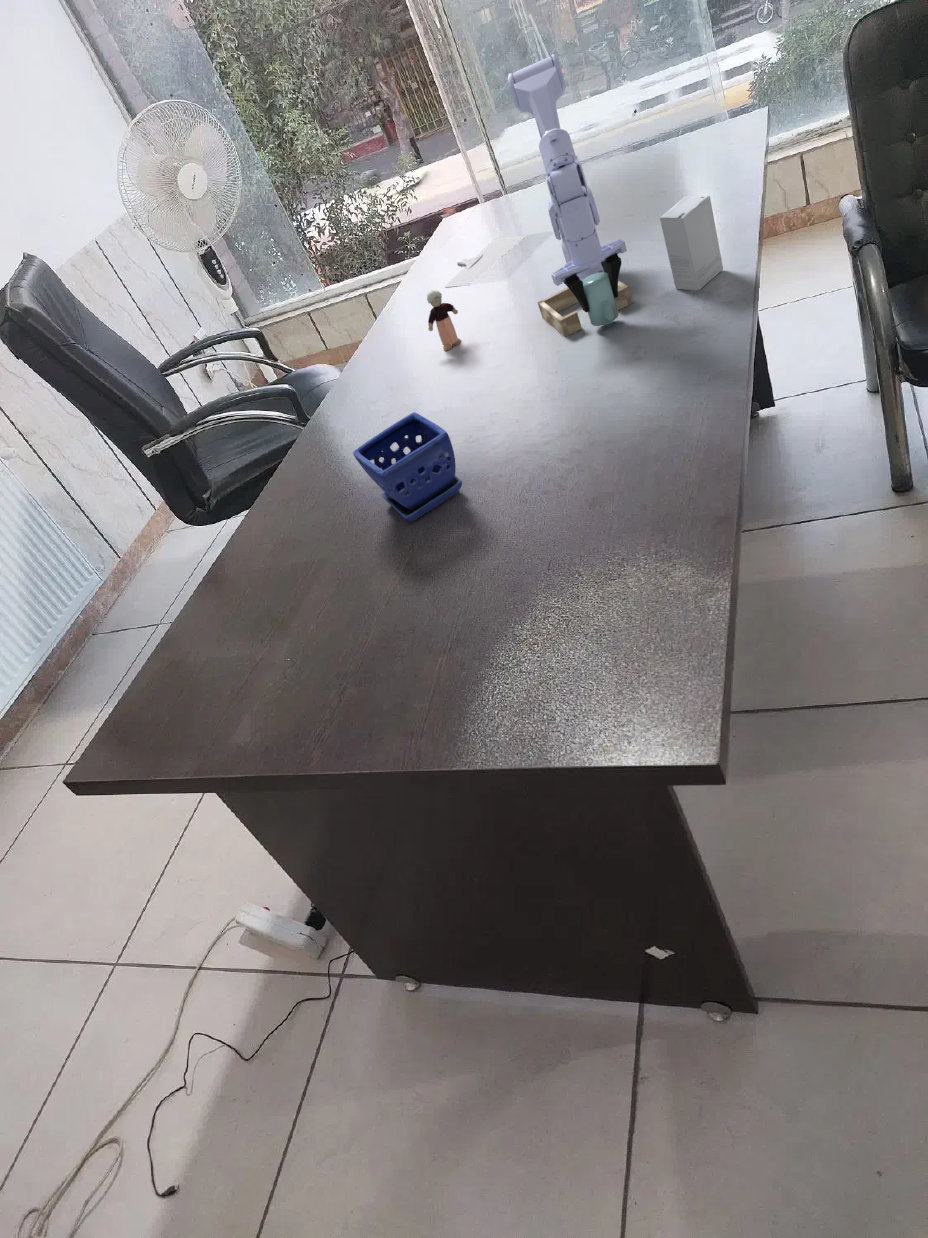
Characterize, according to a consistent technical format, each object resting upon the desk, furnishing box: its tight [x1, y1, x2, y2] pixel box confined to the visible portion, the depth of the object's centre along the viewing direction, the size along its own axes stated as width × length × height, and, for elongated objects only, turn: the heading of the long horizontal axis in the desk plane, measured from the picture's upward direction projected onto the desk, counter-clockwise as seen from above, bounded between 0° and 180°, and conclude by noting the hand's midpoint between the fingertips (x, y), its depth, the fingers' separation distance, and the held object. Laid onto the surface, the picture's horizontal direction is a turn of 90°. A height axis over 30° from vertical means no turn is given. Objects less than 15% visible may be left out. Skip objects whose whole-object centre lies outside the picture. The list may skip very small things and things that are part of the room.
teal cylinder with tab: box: [582, 272, 620, 327], centre depth 165 cm, size 6×8×8 cm
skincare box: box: [659, 195, 724, 292], centre depth 164 cm, size 8×6×15 cm
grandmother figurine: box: [426, 289, 462, 352], centre depth 187 cm, size 8×4×13 cm, turn 131°
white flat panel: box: [444, 234, 528, 288], centre depth 220 cm, size 25×24×1 cm
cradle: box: [537, 270, 633, 338], centre depth 177 cm, size 14×15×4 cm
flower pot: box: [352, 412, 463, 522], centre depth 144 cm, size 13×13×12 cm
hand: (600, 303), depth 167 cm, fingers closed on teal cylinder with tab, 5 cm apart
